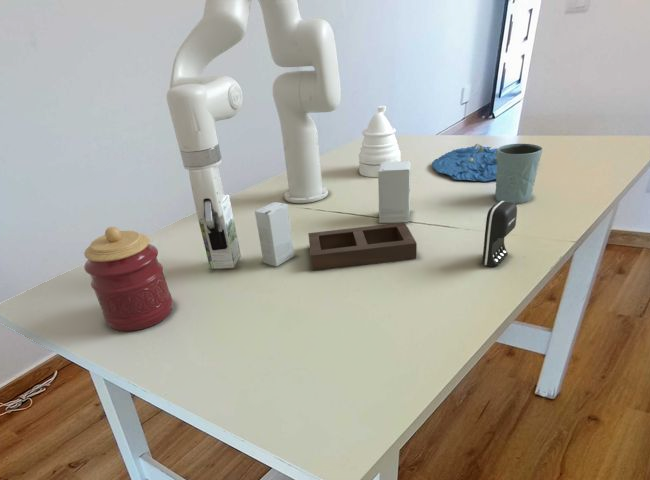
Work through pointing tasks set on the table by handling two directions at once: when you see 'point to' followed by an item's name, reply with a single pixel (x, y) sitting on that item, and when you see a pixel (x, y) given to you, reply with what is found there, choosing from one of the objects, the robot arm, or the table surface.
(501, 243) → the battery charger
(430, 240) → the table surface
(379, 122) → the honey pot
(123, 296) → the kitchen canister
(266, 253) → the cosmetic box
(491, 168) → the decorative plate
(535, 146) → the green cup
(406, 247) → the rack
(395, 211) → the white packaging box
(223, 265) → the syrup box
